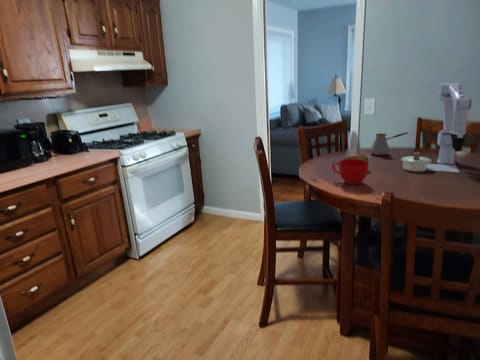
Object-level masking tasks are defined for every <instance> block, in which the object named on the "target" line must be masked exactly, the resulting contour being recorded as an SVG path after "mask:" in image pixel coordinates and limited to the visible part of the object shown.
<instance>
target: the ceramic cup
mask: <svg viewBox="0 0 480 360" xmlns="http://www.w3.org/2000/svg"><path fill="white" fill-rule="evenodd" d="M335 165H337V166H338V167H339V171H338V170H337V169H336V167H335ZM331 168H332V170H333V172H335V173H337V174H338V175H340V177H341V179H342V180H343V181H344V183H345V184H347V185H350V186H357V185H360V184H361V183H362V182H363V181H365V179H366V177H367V175H368V171H369V161H368V162H367V161H364V160H356V159H348V160H343V159H341V160H340V161H339V162H333V163H332V167H331Z"/></svg>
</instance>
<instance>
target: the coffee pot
mask: <svg viewBox="0 0 480 360" xmlns="http://www.w3.org/2000/svg"><path fill="white" fill-rule="evenodd" d="M387 135H388V134H387V133H375V136H376V138H375V140H374V142H373V144H372V145H371V147H370V153H371V154H375V155H374V156H377V155H384V156H387V154H389V153H390V151H391V149H390V146H389V144H388V140H391V139H394V138H398V137H402V136H405V135H407V136H409V133H408V131H407V132H402V133H398V134H395V135H394V136H391V137H387ZM386 137H387V138H386Z"/></svg>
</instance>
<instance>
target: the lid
mask: <svg viewBox="0 0 480 360" xmlns="http://www.w3.org/2000/svg"><path fill="white" fill-rule="evenodd" d="M420 154H421V152H413V156H412V155H411V156H404V157H401V158H400V159H401V162H406V163H411V164H432V159H431V158H428V157H425V156H424V157H423V156H421V155H420Z"/></svg>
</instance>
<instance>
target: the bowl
mask: <svg viewBox="0 0 480 360" xmlns="http://www.w3.org/2000/svg"><path fill="white" fill-rule="evenodd" d="M402 162H403V161H402ZM402 169H403V170H406V171H409V172H410V171H411V172H424V171H427V164H411V163H406V162H403V163H402Z"/></svg>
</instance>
